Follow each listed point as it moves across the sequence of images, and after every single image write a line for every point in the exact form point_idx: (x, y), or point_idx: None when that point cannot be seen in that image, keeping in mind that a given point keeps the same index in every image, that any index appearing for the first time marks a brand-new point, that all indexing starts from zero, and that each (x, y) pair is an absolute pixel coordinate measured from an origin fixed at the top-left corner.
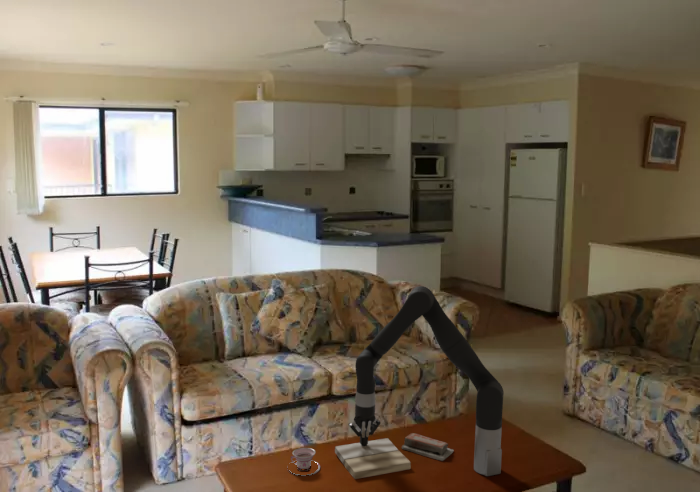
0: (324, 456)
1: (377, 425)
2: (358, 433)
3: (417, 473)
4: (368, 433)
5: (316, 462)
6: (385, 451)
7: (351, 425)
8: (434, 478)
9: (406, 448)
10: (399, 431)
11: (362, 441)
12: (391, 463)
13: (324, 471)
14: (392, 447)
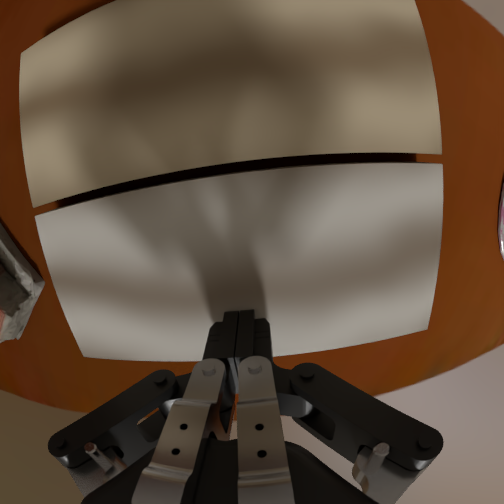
0: (450, 290)
1: (82, 430)
2: (317, 389)
3: (40, 23)
4: (194, 384)
5: (502, 233)
6: (102, 205)
7: (434, 457)
8: (15, 2)
9: (22, 264)
10: (70, 399)
11: (258, 337)
12: (116, 21)
13: (497, 144)
14: (58, 252)
